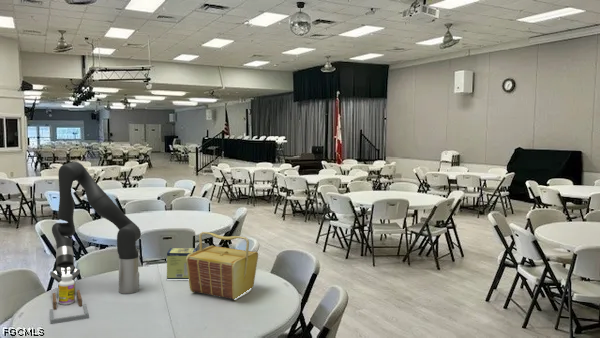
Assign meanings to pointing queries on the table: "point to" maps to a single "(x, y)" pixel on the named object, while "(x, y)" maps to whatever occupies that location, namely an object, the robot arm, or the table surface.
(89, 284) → the table surface
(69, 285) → the supplement bottle
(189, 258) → the picnic basket
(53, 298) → the walnut dock
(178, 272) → the protein box
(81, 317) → the grey flat square frame
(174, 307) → the table surface
